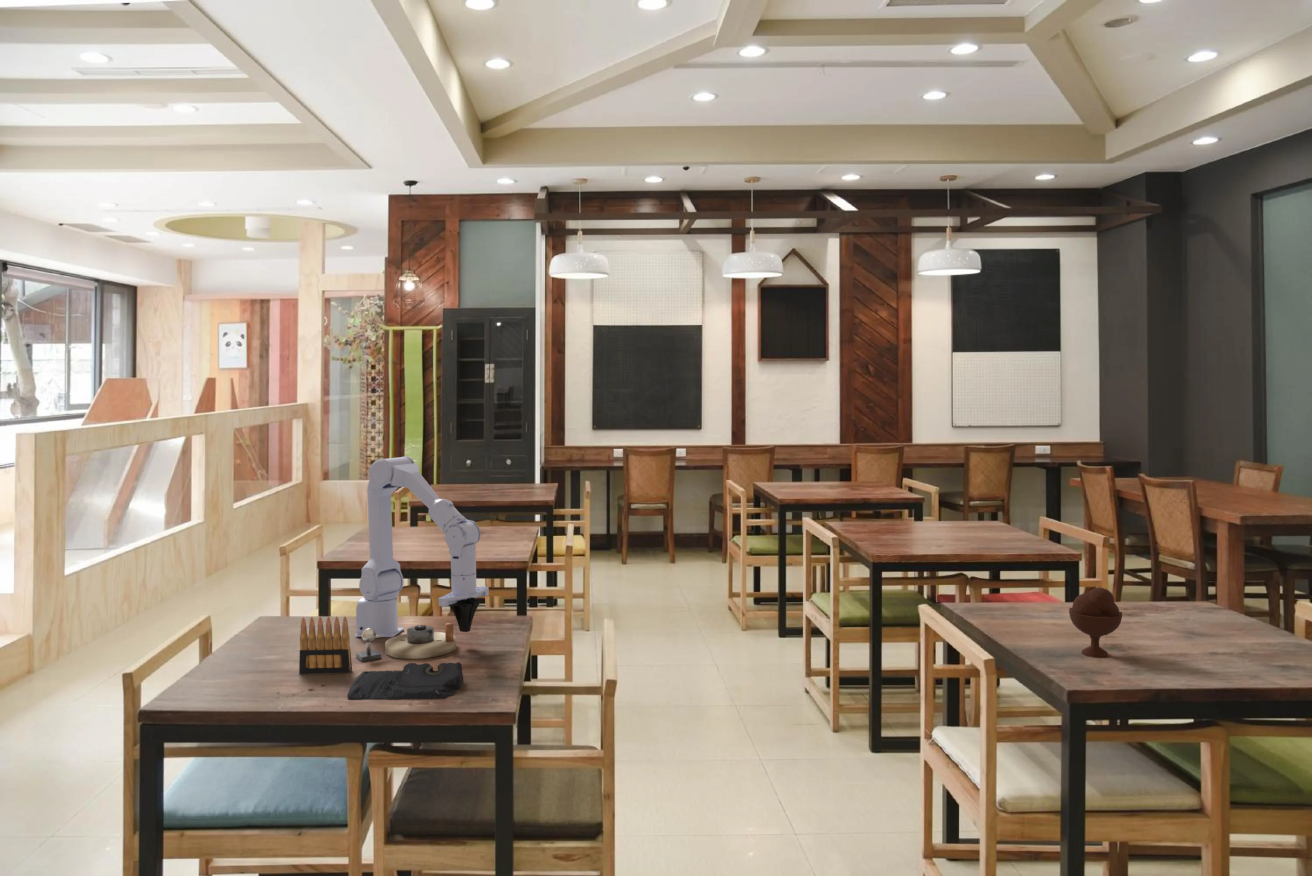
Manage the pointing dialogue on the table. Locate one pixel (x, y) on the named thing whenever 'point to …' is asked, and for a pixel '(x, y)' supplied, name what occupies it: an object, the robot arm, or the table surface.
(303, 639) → the ammunition clip
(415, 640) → the iron cover
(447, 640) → the turntable
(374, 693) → the black folded garment
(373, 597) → the robot arm
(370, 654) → the grey and clear piece
